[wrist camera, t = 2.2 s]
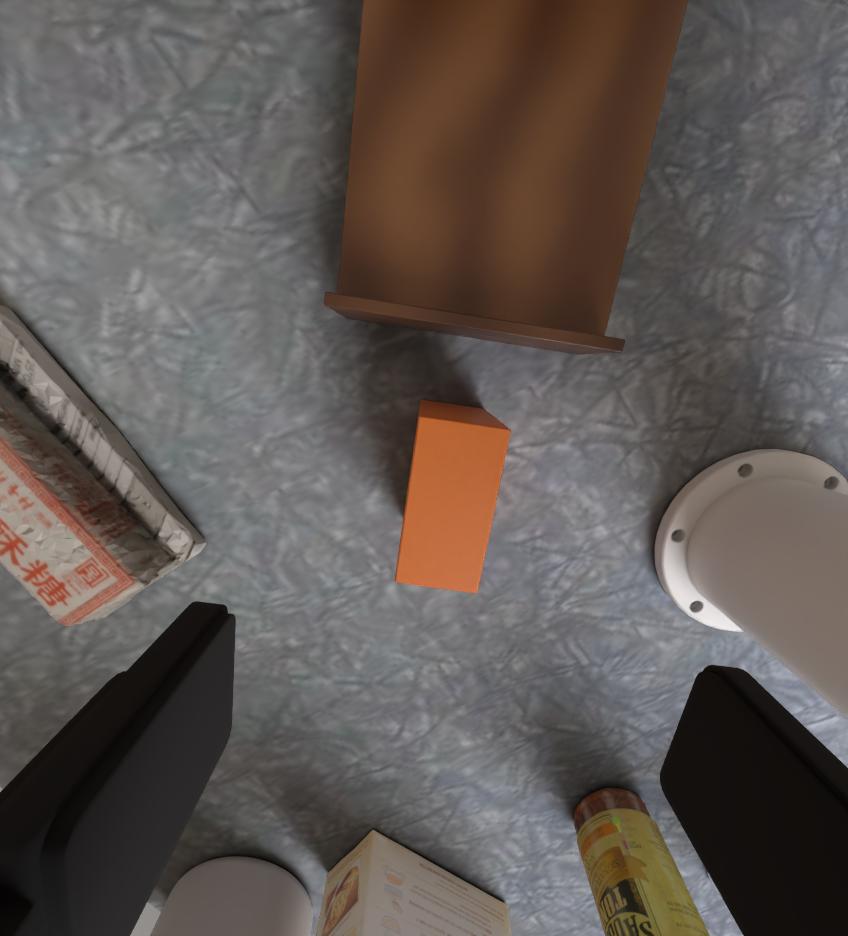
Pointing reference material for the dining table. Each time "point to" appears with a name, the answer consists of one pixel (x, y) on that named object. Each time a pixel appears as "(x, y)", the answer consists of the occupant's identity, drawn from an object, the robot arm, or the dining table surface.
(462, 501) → the block
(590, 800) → the sauce bottle
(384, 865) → the coffeecake box
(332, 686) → the dining table surface
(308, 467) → the dining table surface
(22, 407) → the packaged product
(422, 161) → the shelf
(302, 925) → the cylinder vase
